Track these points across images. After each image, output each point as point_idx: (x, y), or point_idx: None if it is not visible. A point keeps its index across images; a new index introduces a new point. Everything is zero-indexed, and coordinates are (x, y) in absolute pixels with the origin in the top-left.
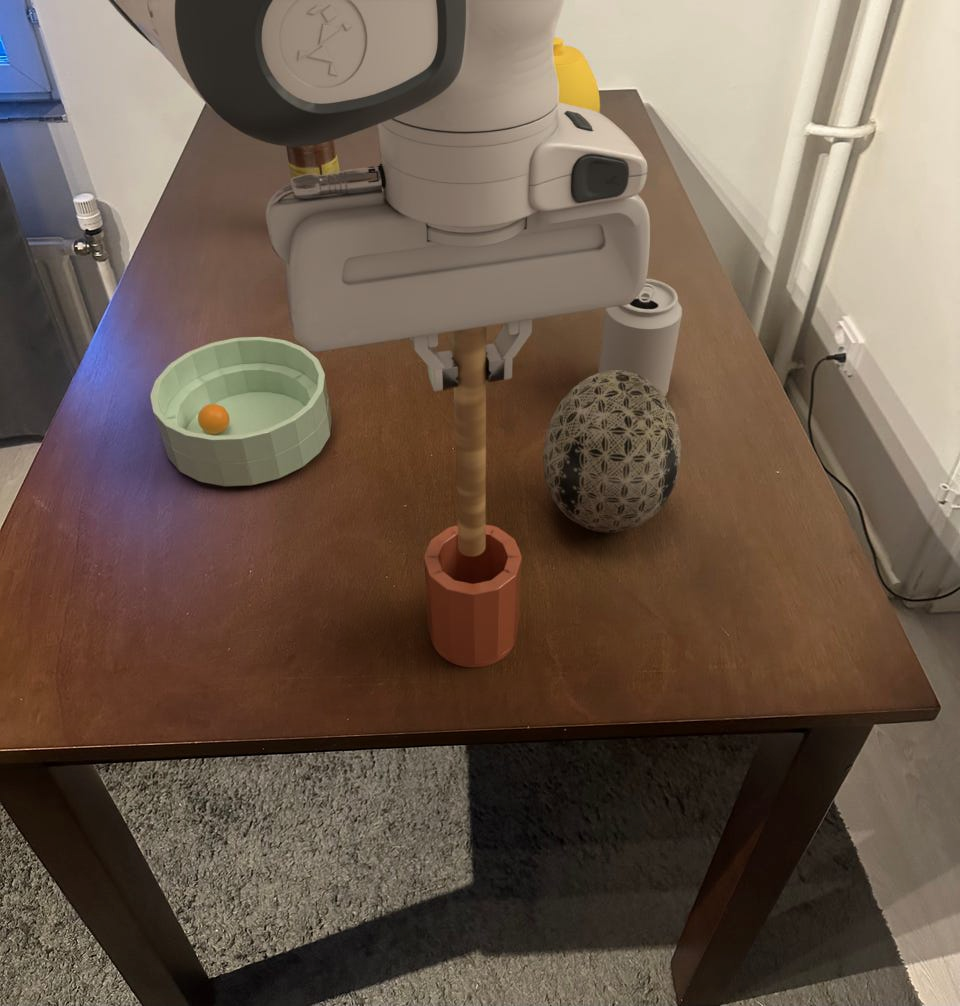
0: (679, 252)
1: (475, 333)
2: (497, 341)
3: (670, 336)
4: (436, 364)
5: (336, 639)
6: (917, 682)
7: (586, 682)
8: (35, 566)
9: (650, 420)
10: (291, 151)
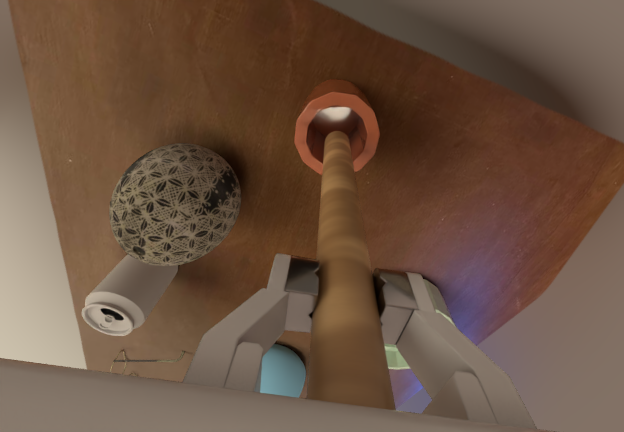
0: (96, 338)
1: (354, 378)
2: (279, 331)
3: (103, 283)
4: (436, 323)
5: (423, 147)
6: None
7: (276, 29)
8: (546, 267)
9: (128, 202)
10: None
